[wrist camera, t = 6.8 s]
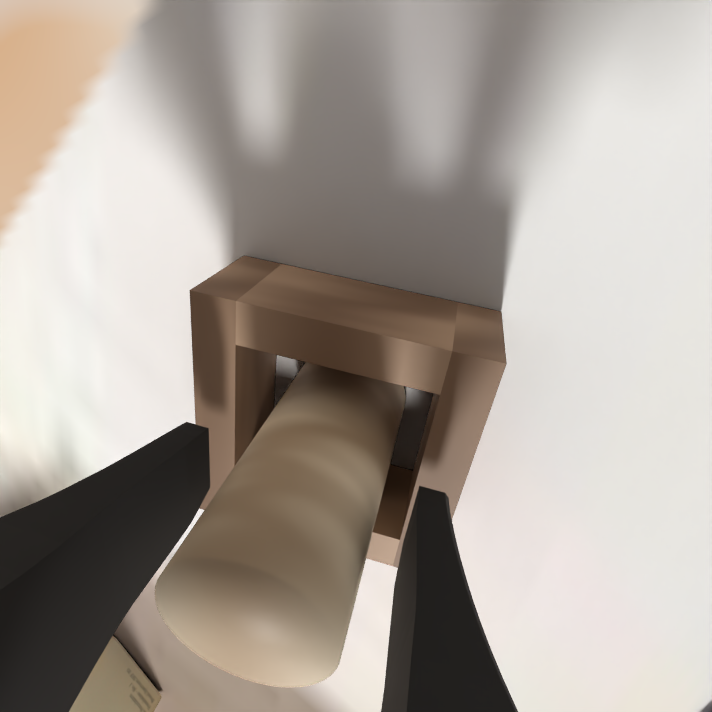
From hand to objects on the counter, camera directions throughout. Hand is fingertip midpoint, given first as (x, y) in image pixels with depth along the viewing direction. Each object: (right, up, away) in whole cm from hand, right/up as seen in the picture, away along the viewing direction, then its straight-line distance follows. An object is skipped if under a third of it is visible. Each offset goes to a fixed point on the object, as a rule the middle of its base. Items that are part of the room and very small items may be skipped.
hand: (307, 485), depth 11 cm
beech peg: (+1, +2, +4) cm, 4 cm away
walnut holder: (+1, +2, +4) cm, 4 cm away
